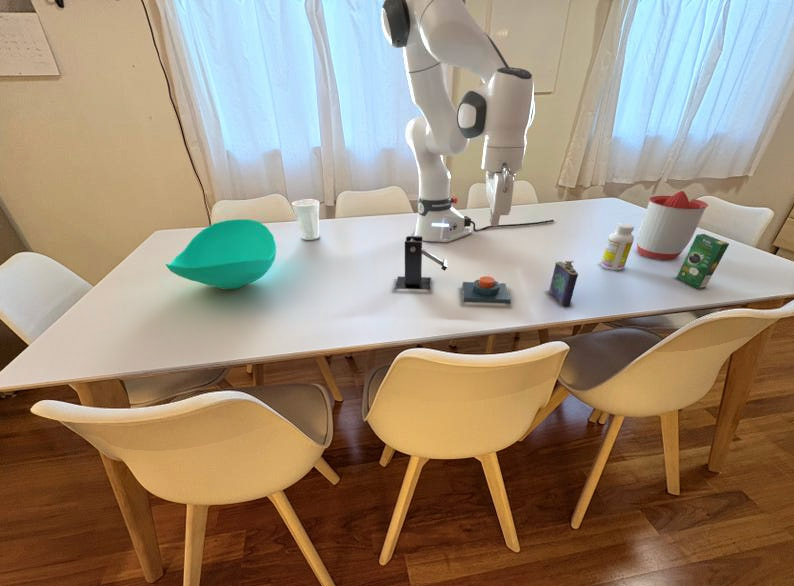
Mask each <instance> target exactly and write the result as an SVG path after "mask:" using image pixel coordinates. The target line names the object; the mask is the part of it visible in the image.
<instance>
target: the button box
mask: <svg viewBox="0 0 794 586" xmlns="http://www.w3.org/2000/svg"><path fill="white" fill-rule="evenodd" d="M461 286H462V287H461V288H462V301H463V303H483V304H484V303H485V304H486V303H487V304H511V300H512V299H511V296H510V293H509V289H508V286H507V283H506V282H498V281H496V280H495V282H494V287H492V288H483V287H480V286H479V279H476V280H474V281H462V284H461Z"/></svg>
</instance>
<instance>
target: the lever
mask: <svg viewBox="0 0 794 586" xmlns="http://www.w3.org/2000/svg"><path fill="white" fill-rule="evenodd" d="M410 241H416V240H414V239H413V238H411V240H410ZM421 253H422V256H423V255H424V256H425V257H427V258H428V259H430V260H431V261H433V262H435V263H437V264H438V265H440V269H441V270H442V271H446V270H447V269H448V260H447V259H446V258H443V259H441V258H439V257H437V256H436V255H434V254H432V253H431V252H430V251H428V250H426V249H424V248H423V247H422V248H421Z"/></svg>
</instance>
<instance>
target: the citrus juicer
mask: <svg viewBox="0 0 794 586" xmlns="http://www.w3.org/2000/svg"><path fill="white" fill-rule="evenodd" d="M648 200H649V202H648V204H647V207H646V209H645V213H644V215H643V218H642V221H641V224H640V226H639V230H638V235H637V244H636V246H637V252H638V253H639V254H640V256H644V257H647V258H652V259H656V260H662V261H668V260H674V259H676V258H678V256H680V254H682V253H683V251H684V250H685V249H686V247H688V245H689V243H690V242H691V240H692V238H693V236H694V234H695V233H696V231H697V228H698V225H699V223H700V221H701V219H702V217H703V215H704V212H705V210H706V208H707V207H708V206H709V204H708V203H707V202H706V201H703V200H700V199H695V198H693V199H691V200H689V198H688V196H687V194H686V192H685V190H680V191H678V192H676V193H675V194H673V195H656V196H651V197H649V199H648Z"/></svg>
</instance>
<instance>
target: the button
mask: <svg viewBox="0 0 794 586" xmlns="http://www.w3.org/2000/svg"><path fill="white" fill-rule="evenodd" d="M478 280H479V286H480V287H483V288H492V287H494V282H495V281H496V280H495V278H494V277H492V276H481V277H479V279H478Z"/></svg>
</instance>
